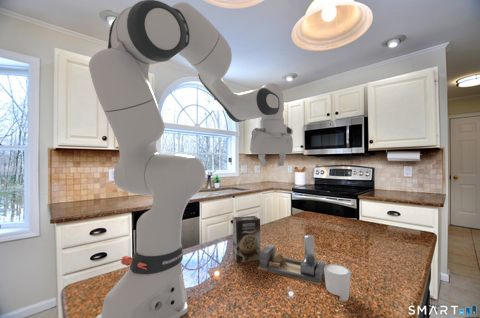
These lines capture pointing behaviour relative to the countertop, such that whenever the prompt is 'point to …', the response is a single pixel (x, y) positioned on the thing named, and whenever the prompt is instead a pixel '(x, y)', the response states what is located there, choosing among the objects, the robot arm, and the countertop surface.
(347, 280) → the shot glass
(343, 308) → the countertop surface
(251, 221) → the coffee box
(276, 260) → the walnut
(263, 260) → the grey holder tray
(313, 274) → the ram
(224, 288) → the countertop surface
